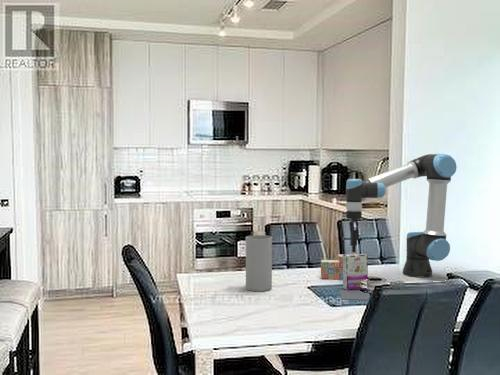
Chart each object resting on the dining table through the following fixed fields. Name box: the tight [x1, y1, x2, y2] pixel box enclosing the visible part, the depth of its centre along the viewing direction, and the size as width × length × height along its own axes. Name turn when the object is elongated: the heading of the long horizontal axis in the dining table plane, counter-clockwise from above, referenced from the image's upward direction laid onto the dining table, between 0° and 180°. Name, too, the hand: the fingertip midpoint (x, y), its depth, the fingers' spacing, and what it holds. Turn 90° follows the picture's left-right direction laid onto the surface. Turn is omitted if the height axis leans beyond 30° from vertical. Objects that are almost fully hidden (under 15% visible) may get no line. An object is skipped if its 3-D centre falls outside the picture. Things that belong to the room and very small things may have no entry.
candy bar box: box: [342, 253, 369, 290], centre depth 244 cm, size 11×5×16 cm, turn 105°
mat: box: [338, 289, 370, 301], centre depth 233 cm, size 16×16×1 cm
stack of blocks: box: [320, 253, 348, 281], centre depth 266 cm, size 21×6×12 cm, turn 88°
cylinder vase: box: [245, 234, 273, 293], centre depth 245 cm, size 12×12×25 cm
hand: (353, 258), depth 251 cm, fingers closed
